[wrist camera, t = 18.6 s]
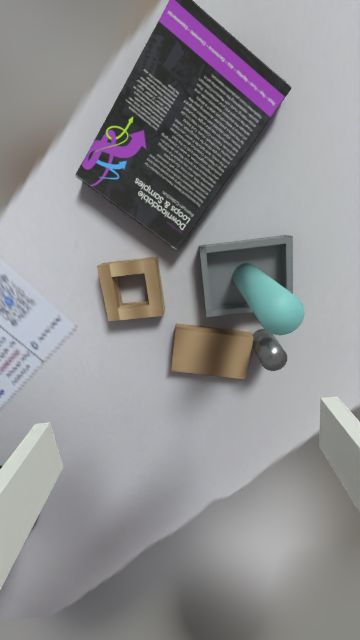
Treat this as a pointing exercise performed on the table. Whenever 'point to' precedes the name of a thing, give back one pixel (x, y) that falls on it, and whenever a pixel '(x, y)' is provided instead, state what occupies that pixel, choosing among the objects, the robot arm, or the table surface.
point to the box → (181, 122)
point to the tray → (226, 257)
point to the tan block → (211, 351)
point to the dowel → (269, 300)
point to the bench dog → (269, 350)
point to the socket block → (113, 295)
